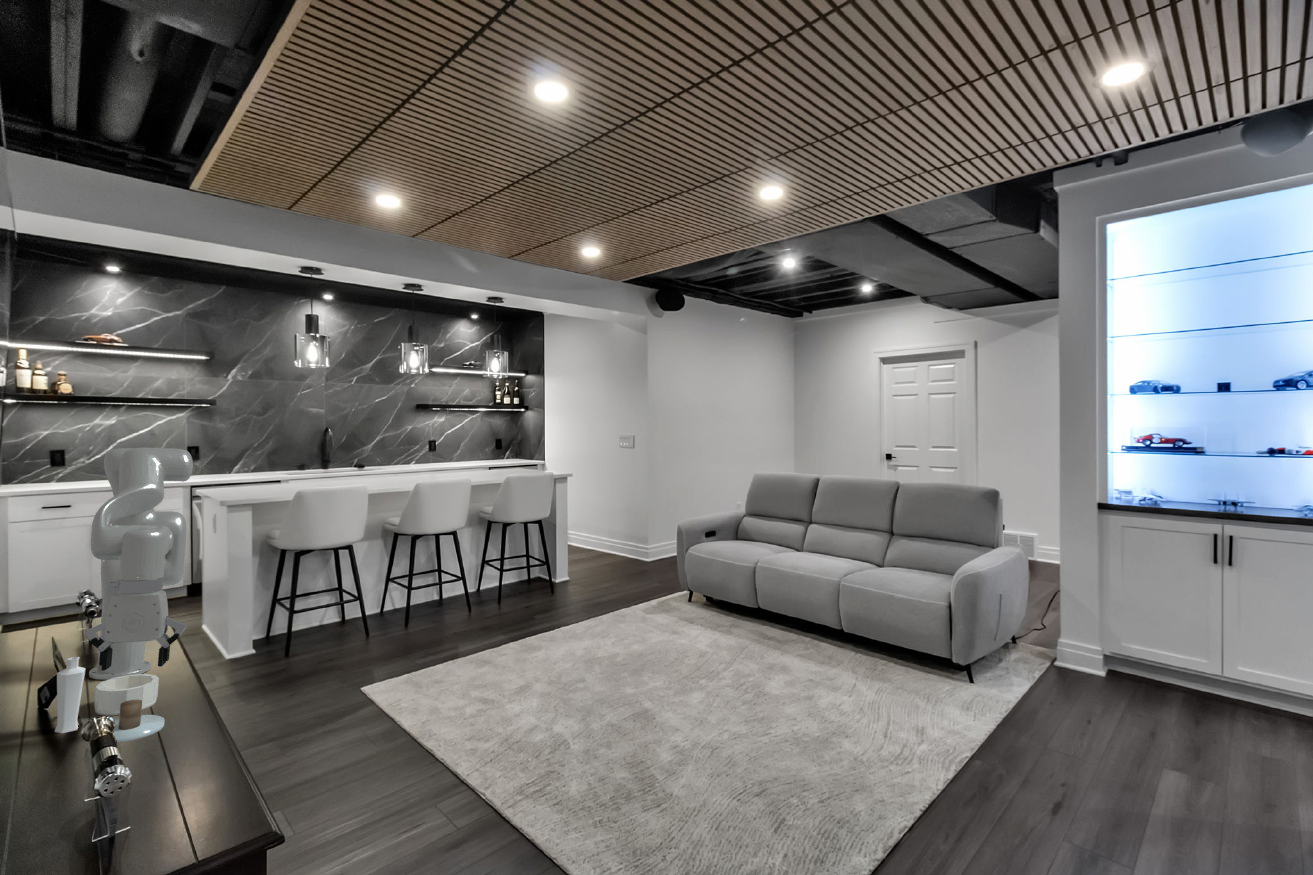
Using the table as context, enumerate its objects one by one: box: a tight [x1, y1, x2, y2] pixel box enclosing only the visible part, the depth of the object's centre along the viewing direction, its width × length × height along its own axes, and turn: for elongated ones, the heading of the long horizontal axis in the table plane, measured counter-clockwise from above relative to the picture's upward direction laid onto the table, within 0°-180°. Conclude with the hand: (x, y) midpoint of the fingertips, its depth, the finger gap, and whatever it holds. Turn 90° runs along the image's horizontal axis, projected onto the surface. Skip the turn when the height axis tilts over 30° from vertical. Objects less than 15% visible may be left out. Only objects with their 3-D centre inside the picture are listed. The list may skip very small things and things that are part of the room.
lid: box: [113, 700, 165, 744], centre depth 136 cm, size 12×12×6 cm
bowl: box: [93, 673, 160, 717], centre depth 148 cm, size 11×11×6 cm
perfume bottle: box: [54, 656, 86, 734], centre depth 136 cm, size 5×4×15 cm
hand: (134, 666), depth 136 cm, fingers open, 9 cm apart
